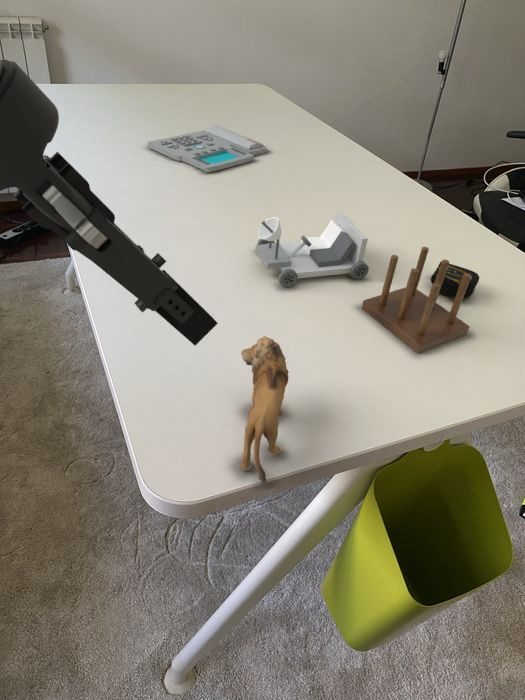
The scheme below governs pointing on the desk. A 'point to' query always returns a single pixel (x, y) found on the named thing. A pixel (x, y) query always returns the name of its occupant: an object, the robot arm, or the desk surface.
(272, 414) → the lion figurine
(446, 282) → the tape measure
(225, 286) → the desk surface
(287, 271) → the toy car
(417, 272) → the walnut rack
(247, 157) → the office telephone
